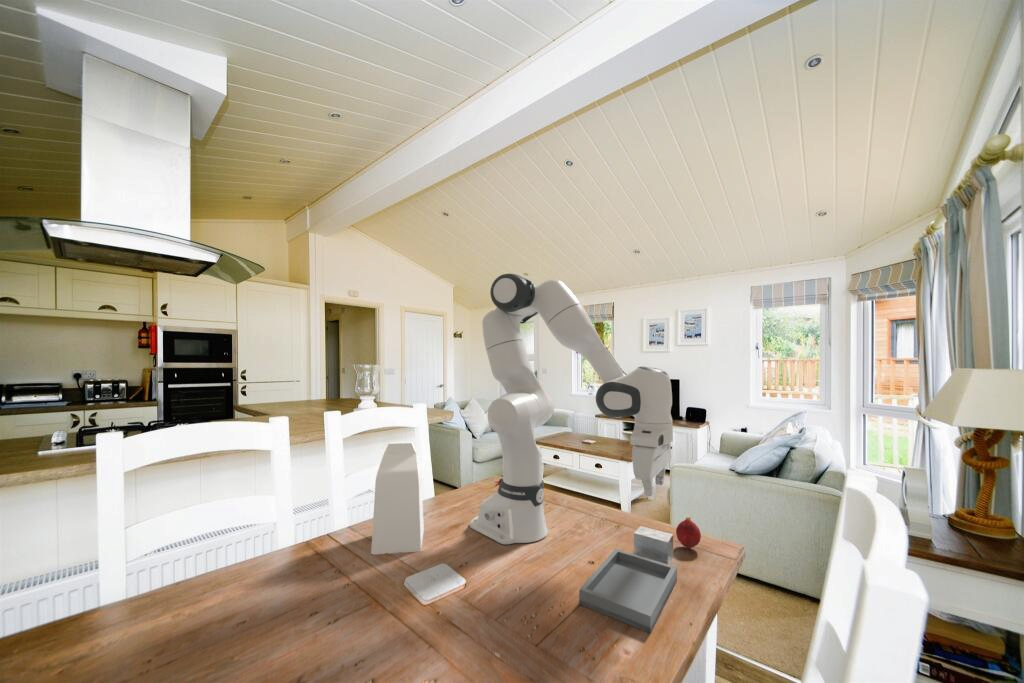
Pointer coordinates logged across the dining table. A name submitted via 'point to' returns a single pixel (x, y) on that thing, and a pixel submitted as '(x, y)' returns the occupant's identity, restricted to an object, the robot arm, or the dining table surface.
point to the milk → (398, 501)
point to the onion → (688, 533)
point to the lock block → (653, 544)
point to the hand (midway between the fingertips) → (654, 489)
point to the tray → (629, 589)
